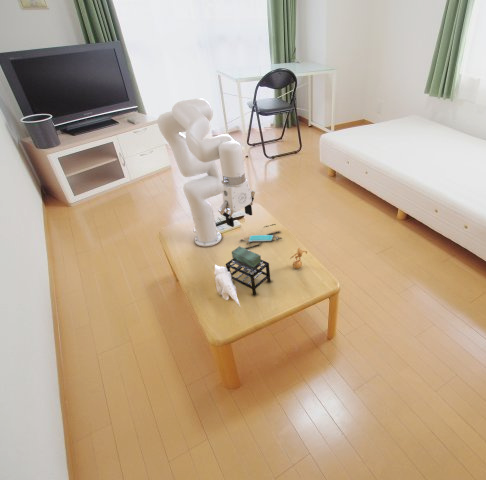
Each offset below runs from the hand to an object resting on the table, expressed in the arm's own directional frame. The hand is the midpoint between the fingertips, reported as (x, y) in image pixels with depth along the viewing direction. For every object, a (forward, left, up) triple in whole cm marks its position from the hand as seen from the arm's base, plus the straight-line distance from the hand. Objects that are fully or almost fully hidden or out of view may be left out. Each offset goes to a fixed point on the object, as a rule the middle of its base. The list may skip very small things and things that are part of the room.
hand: (239, 219), depth 127 cm
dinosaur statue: (+2, -13, -29) cm, 31 cm away
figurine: (+15, +16, -29) cm, 36 cm away
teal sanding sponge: (+3, -2, -18) cm, 19 cm away
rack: (+3, -2, -28) cm, 29 cm away
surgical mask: (-13, +24, -29) cm, 39 cm away
